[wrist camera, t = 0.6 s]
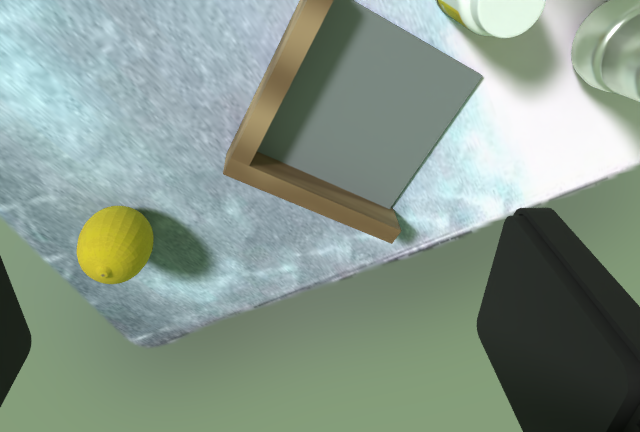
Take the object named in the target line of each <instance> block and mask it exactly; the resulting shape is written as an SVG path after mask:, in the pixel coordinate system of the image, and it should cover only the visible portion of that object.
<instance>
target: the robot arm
mask: <svg viewBox="0 0 640 432" xmlns="http://www.w3.org/2000/svg"><path fill="white" fill-rule="evenodd" d="M477 331H478V335H479V338H480V340H481V343H482V345H483V347H484V349H485V351H486V353H487V355H488V357H489V360H490V362H491V364H492V366H493V368H494V370H495V373H496V375H497V377H498V379H499V381H500V383H501V385H502V388H503V390H504V392H505V394H506V396H507V398H508V400H509V403H510V405H511V407H512V409H513V411H514V413H515V415H516V417H517V420H518V422H519V424H520V426H521V428H522V430H523V432H640V307H639V305H638V304H637V303H636V302H635V301H634V300H633V299H632V298H631V296H630V295H629V294H628V293H627V292H626V291H625V290H624V289H623V287H622V286H621V285H620V284H619V283H618V282H617V281H616V280H615V278H613V276H612V275H611V274H610V273H609V272H608V271H607V270H606V268H605V267H604V266H603V265H602V264H601V263H600V262H599V261H598V259H597V258H596V257H595V256H594V255H593V254H592V253H591V252H590V250H589V249H588V248H587V247H586V246H585V245H584V244H583V243H582V241H581V240H580V239H579V238H578V237H577V236H576V235H575V234H574V232H573V231H572V230H571V229H570V228H569V227H568V226H567V225H566V223H565V222H564V221H563V220H562V219H561V218H560V217H559V216H558V215H557V213H556V212H555V211H554V210H552V209H551V208H519V209H517V210H516V212H515V213H514V215H513V216H508V217H507V218H506V220H505V222H504V225H503V229H502V233H501V236H500V239H499V243H498V247H497V250H496V254H495V257H494V261H493V265H492V268H491V272H490V275H489V279H488V282H487V286H486V290H485V293H484V297H483V300H482V304H481V308H480V311H479V314H478V318H477ZM30 348H31V334H30V331H29V328H28V326H27V323H26V320H25V318H24V316H23V313H22V310H21V308H20V305H19V302H18V300H17V297H16V295H15V292H14V290H13V287H12V284H11V282H10V279H9V277H8V274H7V272H6V269H5V266H4V264H3V261H2V259H1V256H0V407H1V405H2V403H3V401H4V399H5V397H6V395H7V394H8V392H9V390H10V388H11V386H12V384H13V382H14V380H15V379H16V377H17V374H18V373H19V371H20V369H21V367H22V365H23V363H24V362H25V360H26V358H27V356H28V354H29V351H30Z"/></svg>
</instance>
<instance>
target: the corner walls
mask: <svg viewBox="0 0 640 432" xmlns="http://www.w3.org/2000/svg"><path fill="white" fill-rule="evenodd" d="M332 2H333V0H300V1H299V3H298V5H297V7H296V10H295V12H294V14H293V16H292V18H291V20H290V22H289V24H288V26H287V28H286V30H285V33H284V35H283V37H282V39H281V41H280V43H279V45H278V47H277V49H276V51H275V54H274V56H273V58H272V60H271V62H270V64H269V66H268V68H267V70H266V72H265V74H264V77H263V79H262V81H261V83H260V85H259V87H258V89H257V91H256V93H255V95H254V97H253V100H252V102H251V104H250V106H249V108H248V110H247V112H246V114H245V116H244V118H243V121H242V123H241V125H240V127H239V129H238V131H237V133H236V135H235V137H234V139H233V141H232V144H231V146H230V148H229V150H228V152H227V154H226V160H225V165H224V171H223V174H224V175H226V176H229V177H231V178H233V179H236V180H238V181H241V182H243V183H246V184H248V185H250V186H253V187H255V188H258V189H260V190H263V191H265V192H267V193H270V194H272V195H275V196H277V197H280V198H282V199H284V200H287V201H289V202H292V203H294V204H297V205H299V206H301V207H304V208H306V209H309V210H311V211H314V212H316V213H318V214H321V215H323V216H326V217H328V218H331V219H333V220H335V221H338V222H340V223H343V224H345V225H348V226H350V227H352V228H355V229H357V230H360V231H362V232H365V233H367V234H369V235H372V236H374V237H377V238H379V239H382V240H384V241H386V242H389V243H391V244H392V243H393V242H394V240H395V239H396V238H397V236H398V235H399V233H400V232H401V228H400V226H399V223H398V220H397V218H396V215H395V212H394V210H393V209H392V208H390V209H388V208H386V207H383V206H381V205H379V204H376V203H374V202H372V201H370V200H367V199H365V198H363V197H360V196H358V195H356V194H354V193H351V192H349V191H347V190H344V189H342V188H340V187H337V186H335V185H333V184H331V183H328V182H326V181H324V180H321V179H319V178H317V177H315V176H312V175H310V174H308V173H305V172H303V171H301V170H299V169H296V168H294V167H292V166H289V165H287V164H285V163H283V162H280V161H278V160H276V159H273V158H271V157H269V156H267V155H264V154H262V153H260V152H257V150H258V148H259V146H260V144H261V142H262V140H263V138H264V136H265V134H266V132H267V130H268V128H269V126H270V124H271V122H272V120H273V118H274V116H275V114H276V112H277V110H278V108H279V106H280V104H281V103H282V101H283V99H284V97H285V95H286V93H287V91H288V89H289V87H290V85H291V83H292V81H293V79H294V77H295V75H296V73H297V71H298V69H299V67H300V65H301V63H302V61H303V59H304V57H305V55H306V53H307V51H308V49H309V48H310V46H311V44H312V42H313V40H314V38H315V36H316V34H317V32H318V30H319V28H320V26H321V24H322V22H323V20H324V18H325V16H326V14H327V12H328V10H329V8H330V6H331V4H332Z"/></svg>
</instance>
